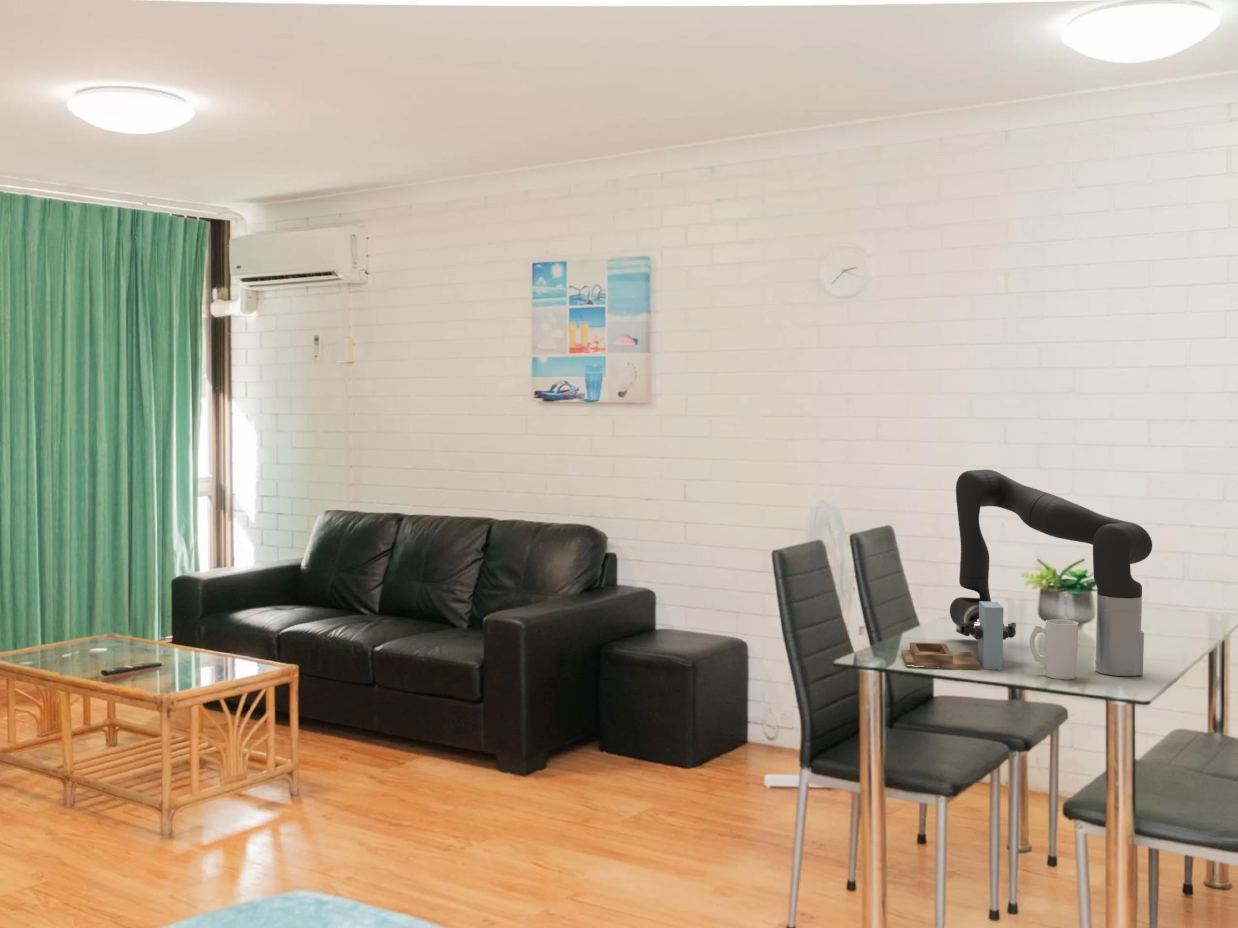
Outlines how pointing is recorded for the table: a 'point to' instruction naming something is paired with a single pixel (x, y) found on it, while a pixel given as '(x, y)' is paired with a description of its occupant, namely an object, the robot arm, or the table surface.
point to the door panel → (990, 635)
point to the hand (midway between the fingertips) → (992, 634)
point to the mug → (1058, 648)
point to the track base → (938, 657)
